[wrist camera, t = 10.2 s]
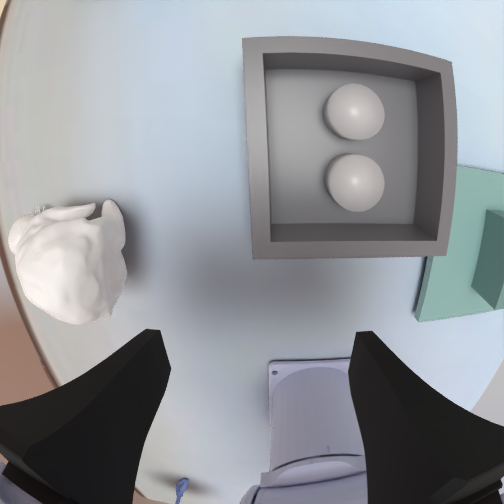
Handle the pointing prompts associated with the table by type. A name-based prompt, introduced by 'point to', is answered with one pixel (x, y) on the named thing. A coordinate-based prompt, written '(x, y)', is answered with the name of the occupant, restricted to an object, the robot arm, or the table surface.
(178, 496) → the baby rattle
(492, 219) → the lid
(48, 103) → the table surface
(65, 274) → the white lumpy piece
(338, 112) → the storage box
